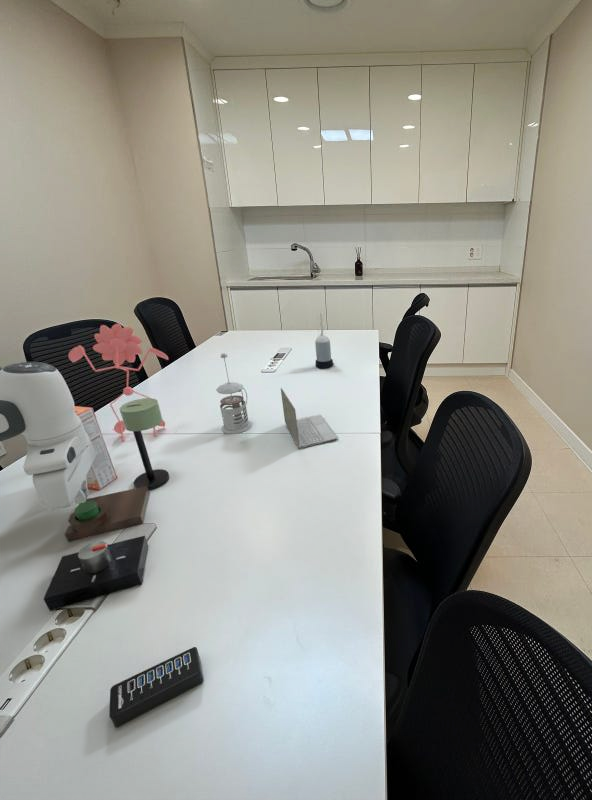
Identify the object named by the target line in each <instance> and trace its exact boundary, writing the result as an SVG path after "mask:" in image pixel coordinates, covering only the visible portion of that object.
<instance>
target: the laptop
mask: <svg viewBox="0 0 592 800" xmlns="http://www.w3.org/2000/svg"><path fill="white" fill-rule="evenodd" d="M280 393H281V402H282V410H283V417H284V424H285V425H286V428H287V430H288V431H289V433H290V434H291V436H292V438H293V440H294V442H295V444H296V445H297V447H298V449H304V448H306V447H307V448H308V447H311V446H314V445H318V444H322V443H327V442H330V441H333V440H337V439H339V436H338V435H337V433H336V432H335V431H334V429H333V428H332V427H331V425H330V424H329V423H328V422H327V420H325V418H324V417H323V416H322V414H317V415H311V416H307V417H302V418H297V412H296V408H295V406H294V405H293V403H292V402H291V400H290V399H289V397H288V396H287V394H286V392H285V391H284V390H283V388H282V387H280Z"/></svg>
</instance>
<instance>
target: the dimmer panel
mask: <svg viewBox="0 0 592 800" xmlns="http://www.w3.org/2000/svg"><path fill="white" fill-rule="evenodd" d="M107 545H108V548H109V550H110V553H111V556H112V562H111V563H110V565H109V566H108V567H106V568H105V569H103V570H102V571H99V572H97V573H92V574H89V573H86V572H85V571H84V569H83V566H82V564H81V562H80V560H79V557H78V553H79V551H78V552H74V553H70V554H66V555H62V556H61V558H60V561H59V563H58V565H57V567H56V569H55V572H54V574H53V576H52V578H51V581H50V583H49V585H48V588H47V590H46V592H45V593H44V595H43V601H44V604H45V605H46V607H47V609H48V611H49V612H52V611H55V610H58V609H61V608H65V607H68V606H72V605H75V604H79V603H82V602H86V601H89V600H93V599H97V598H99V597H103V596H107V595H110V594H113V593H117V592H120V591H124V590H129V589H131V588H135V587H138V586H142V585H143V579H144V574H145V568H146V563H147V558H148V551H149V544H148V540H147V537H146V535H141V536H137V537H133V538H129V539H125V540H122V541H117V542H114V543H109V544H107ZM96 597H97V598H96Z"/></svg>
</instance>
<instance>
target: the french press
mask: <svg viewBox="0 0 592 800" xmlns="http://www.w3.org/2000/svg"><path fill="white" fill-rule="evenodd" d="M220 358H221V359H223V360H224V365H225V371H226V377H227V382H225V383H223V384H221V385H219V386H218V387H217V388H216V390H215V391H216V392H217V393H218V394H221V395H228V396H225V397H223V398H222V399H221V400H220V406H219V408H220V414H221V417H222V424H223V425H222V426H221V432H222V433H223V434H227V435H235V434H241V433H243V432H247V431H248V430H250V429H251V428H252V427H253V422H252V421H250V420H249V416H248V410H247V404H248V393H247V390H246V389H245V388H244V385H243V384H242V383H239V382H236V381H235V382H234V381H230V379H229V374H228V369H227V363H226V358H228V355H227V353H221V354H220ZM243 390H244V392H245V397H246V400H245V398H244V393H243ZM240 392H241V395H233V394H236V393H240Z"/></svg>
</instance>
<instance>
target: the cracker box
mask: <svg viewBox="0 0 592 800" xmlns="http://www.w3.org/2000/svg"><path fill="white" fill-rule="evenodd" d="M74 409H75V413H76V414H77V416H78V417H79V418H80V420H81V422H82V424H83V427H84V430H85V432H86V433H87V434H88V436H89V438H90V440H91V442H92V445H93V447H94V449H95V453H96V457H95V459H94V461H93V463H92V465H91V467H90V469H89V471H88V473H87V475H86V477H87V488H88V490H89V489H90V490H94V491H101V490H103V489H104V488H105V487H107V486H108V485H109V484H111V483H113V482H114V481H115V480H116V479H118V475H117V473H116V469H115V466H114V464H113V461H112V458H111V456H110V453H109V450H108V447H107V444H106V441H105V439H104V436H103V433H102V430H101V428H100V425H99V424H100V423H99V422H98V419H97V416H96V413H95V411H94V408H93V407H89V406H79V405H74Z"/></svg>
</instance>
